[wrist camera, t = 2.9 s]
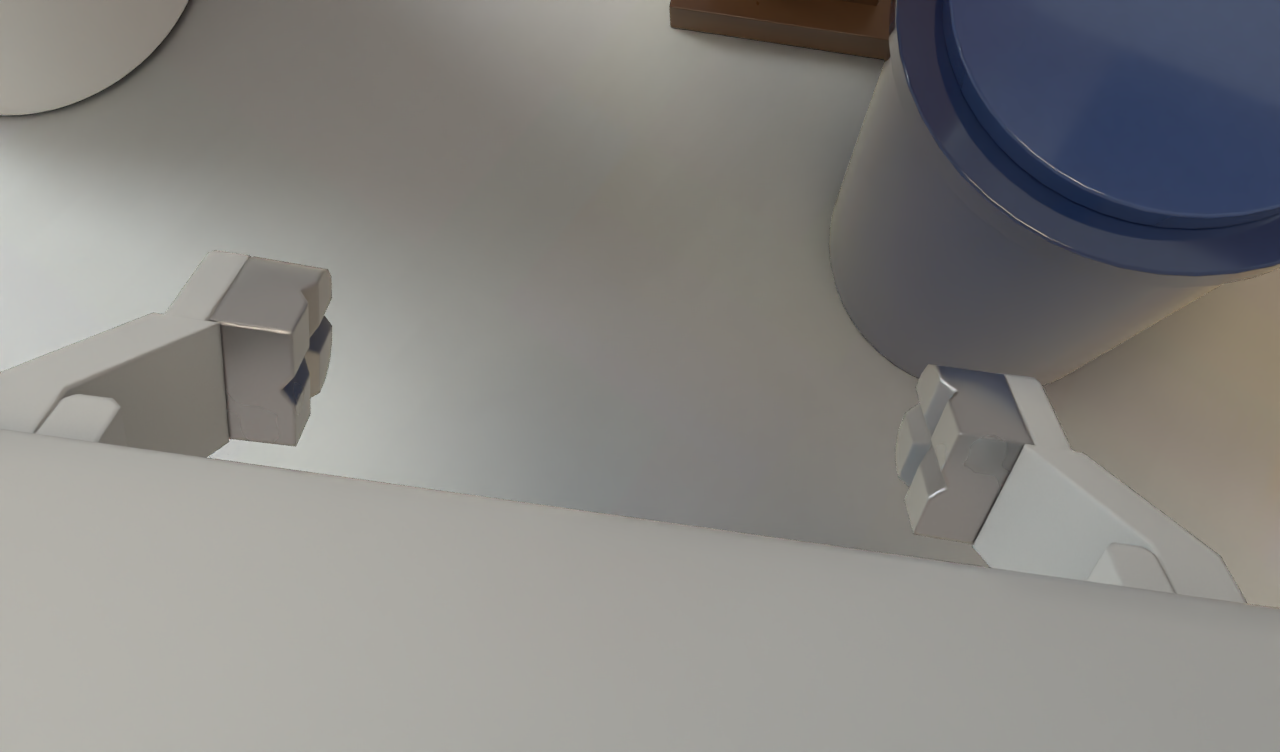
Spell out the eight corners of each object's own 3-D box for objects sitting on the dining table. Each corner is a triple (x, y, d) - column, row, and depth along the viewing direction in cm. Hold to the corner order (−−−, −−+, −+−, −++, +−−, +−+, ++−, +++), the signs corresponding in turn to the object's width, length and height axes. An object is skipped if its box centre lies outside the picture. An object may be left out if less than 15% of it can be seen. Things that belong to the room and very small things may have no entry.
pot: (751, 249, 40) (786, 4, 23) (968, 36, 41) (1151, -344, 24) (995, 475, 38) (1229, 385, 21) (1217, 243, 39) (1606, -18, 22)
